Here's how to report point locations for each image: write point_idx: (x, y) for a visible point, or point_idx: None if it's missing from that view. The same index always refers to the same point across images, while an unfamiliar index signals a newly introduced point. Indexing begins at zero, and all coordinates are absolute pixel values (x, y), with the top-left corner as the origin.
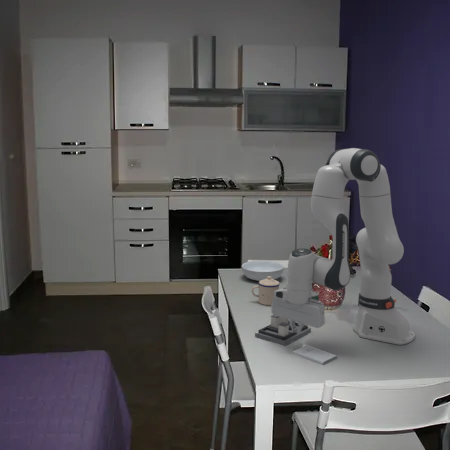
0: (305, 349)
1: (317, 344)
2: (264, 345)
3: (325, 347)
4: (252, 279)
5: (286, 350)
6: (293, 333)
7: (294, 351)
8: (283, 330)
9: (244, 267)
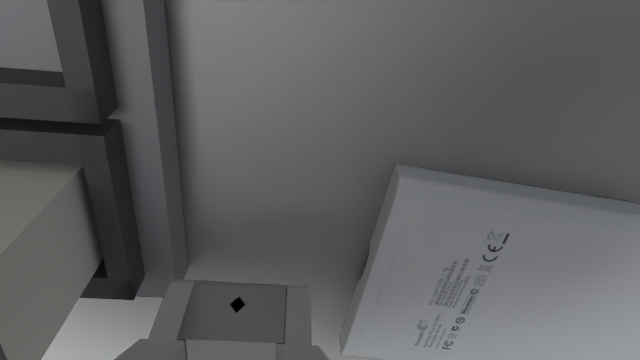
0: (427, 287)
1: (480, 9)
2: None
3: (603, 39)
4: None
5: None
6: (99, 95)
7: (352, 355)
8: (45, 334)
9: None
